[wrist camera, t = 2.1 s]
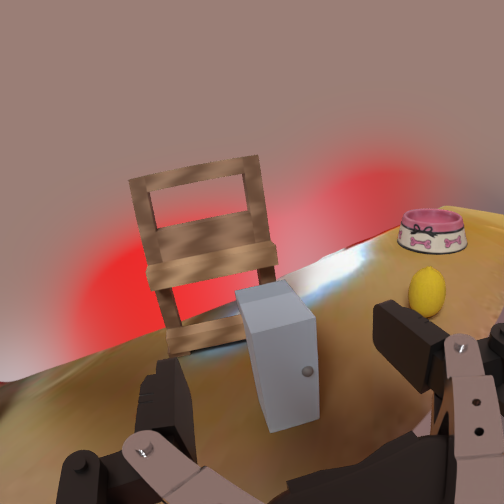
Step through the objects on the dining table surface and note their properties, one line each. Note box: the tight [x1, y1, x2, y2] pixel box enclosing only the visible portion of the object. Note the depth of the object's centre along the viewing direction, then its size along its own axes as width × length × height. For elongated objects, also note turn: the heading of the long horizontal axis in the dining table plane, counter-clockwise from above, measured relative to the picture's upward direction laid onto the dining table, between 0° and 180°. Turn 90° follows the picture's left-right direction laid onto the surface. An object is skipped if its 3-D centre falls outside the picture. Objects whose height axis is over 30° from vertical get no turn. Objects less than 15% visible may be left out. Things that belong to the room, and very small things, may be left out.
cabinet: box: [235, 280, 320, 433], centre depth 28 cm, size 5×9×12 cm, turn 12°
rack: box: [129, 155, 278, 358], centre depth 40 cm, size 17×6×24 cm, turn 102°
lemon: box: [408, 266, 446, 318], centre depth 37 cm, size 6×6×8 cm
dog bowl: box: [397, 209, 467, 255], centre depth 65 cm, size 18×19×7 cm
